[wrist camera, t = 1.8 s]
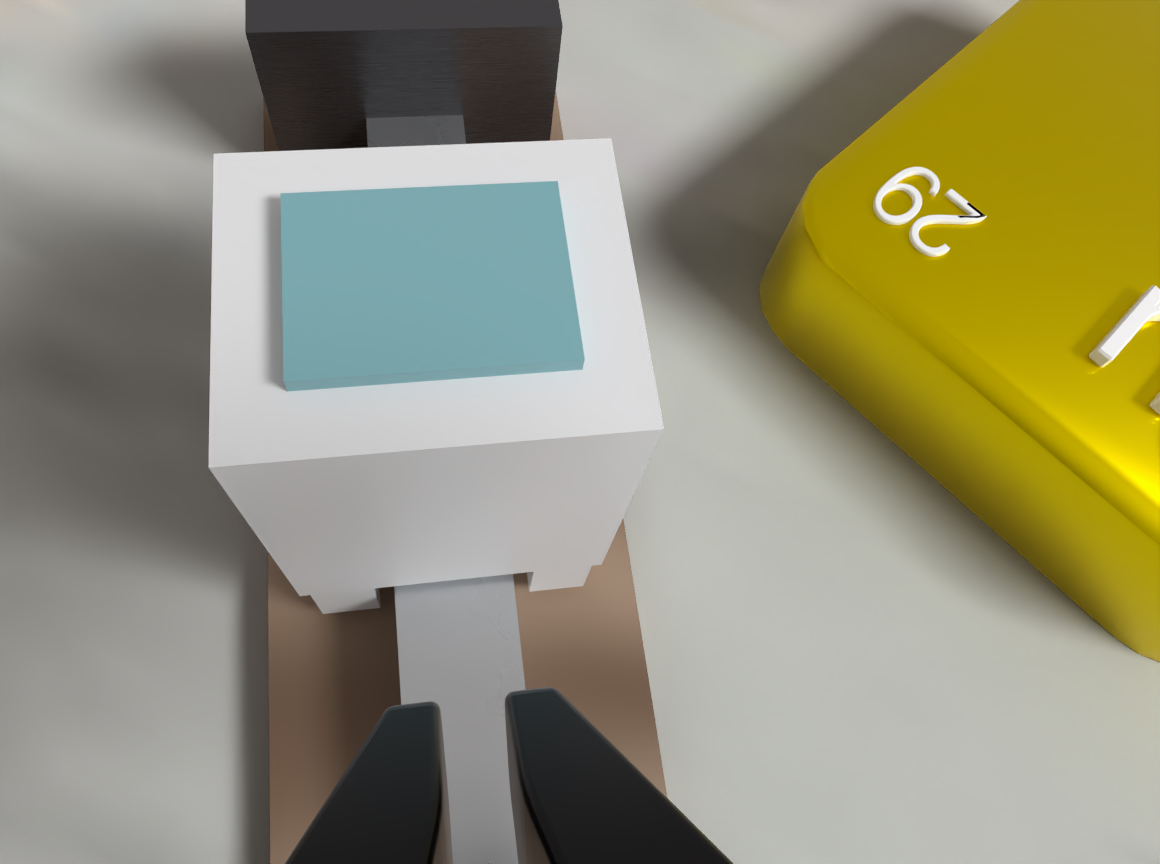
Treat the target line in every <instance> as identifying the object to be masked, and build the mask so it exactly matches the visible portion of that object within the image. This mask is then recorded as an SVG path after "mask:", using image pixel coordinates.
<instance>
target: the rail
mask: <svg viewBox="0 0 1160 864" xmlns="http://www.w3.org/2000/svg"><path fill="white" fill-rule="evenodd" d="M561 34H562V21H561V15H560V9H559V3H558V0H246V36H247V40H248V43H249V47H250V50H251V54H252V57H253V61H254V64H255V68H256V71H257V75H258V79H259V82H260V86H261V89H262V93H263V96H264V100H265V103H266V107H267V110H268V114H269V117H270V121H271V125H272V128H273V132H274V135H275V139H276V142H277V146H278V149H279V151H295V150H321V149H347V148H373V147H399V146H426V145H452V144H478V143H504V142H530V141H550V135H551V126H552V117H553V108H554V99H555V89H556V80H557V71H558V62H559V53H560V43H561ZM394 592H395V608H396V625H397V642H398V658H399V675H400V692H401V705H402V704H411V703H419V702H427V701H433V702H435V703H437V704H438V705H439V707H440V711H441V720H442V731H443V741H444V752H445V763H446V774H447V784H448V797H449V810H450V826H451V841H452V856H453V864H518V855H517V846H516V838H515V829H514V821H513V812H512V803H511V794H510V783H509V769H508V753H507V737H506V720H505V698H506V696H507V694H509V693H510V692H512V691H518V690H526V689H525V680H524V671H523V662H522V652H521V643H520V634H519V625H518V616H517V607H516V597H515V588H514V579H513V574H507V575H498V576H488V577H479V578H469V579H459V580H450V581H440V582H431V583H421V584H412V585H402V586H394Z"/></svg>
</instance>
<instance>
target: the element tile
mask: <svg viewBox="0 0 1160 864" xmlns="http://www.w3.org/2000/svg"><path fill="white" fill-rule="evenodd" d="M759 289H760V301H761V309H762V311H763V313H764V315H765V317H766V319H767V321H768V323H769V325H770V327H771V329H772V331H773V332H774V333H775V335H776V336H777V337H778V338H779V339H780V340H781V342H782V343H783V344H784V345H785V346H786V348H787V349H789V350H790V351H791V352H792V353H793V354H794V355H795V356H796V357H798V358H799V359H800V360H801V361H802V362H803V363H804V364H806V365H807V366H808V367H809V368H810V369H811V370H812V371H813V372H815V373H816V374H817V375H818V376H819V377H820V378H821V379H823V380H824V381H825V382H826V383H827V384H828V385H829V386H830V387H832V388H833V389H834V390H835V391H836V392H837V393H838V394H840V395H841V396H842V397H843V398H844V399H845V400H846V401H847V402H849V403H850V404H851V405H852V406H853V407H854V408H855V409H856V410H858V411H859V412H860V413H861V414H862V415H863V416H864V417H866V418H867V419H868V420H869V421H870V422H871V423H872V424H873V425H875V426H876V427H877V428H878V429H879V430H880V431H881V432H883V433H884V434H885V435H886V436H887V437H888V438H889V439H890V440H892V441H893V442H894V443H895V444H896V445H897V446H898V447H900V448H901V449H902V450H903V451H904V452H905V453H906V454H907V455H909V456H910V457H911V458H912V459H913V460H914V461H915V462H917V463H918V464H919V465H920V466H921V467H922V468H923V469H924V470H926V471H927V472H928V473H929V474H930V475H931V476H932V477H934V478H935V479H936V480H937V481H938V482H939V483H940V484H941V485H943V486H944V487H945V488H946V489H947V490H948V491H949V492H951V493H952V494H953V495H954V496H955V497H956V498H957V499H958V500H960V501H961V502H962V503H963V504H964V505H965V506H966V507H968V508H969V509H970V510H971V511H972V512H973V513H974V514H975V515H977V516H978V517H979V518H980V519H981V520H982V521H983V522H984V523H986V524H987V525H988V526H989V527H990V528H991V529H992V530H994V531H995V532H996V533H997V534H998V535H999V536H1000V537H1001V538H1003V539H1004V540H1005V541H1006V542H1007V543H1008V544H1009V545H1011V546H1012V547H1013V548H1014V549H1015V550H1016V551H1017V552H1018V553H1020V554H1021V555H1022V556H1023V557H1024V558H1025V559H1026V560H1028V561H1029V562H1030V563H1031V564H1032V565H1033V566H1034V567H1035V568H1037V569H1038V570H1039V571H1040V572H1041V573H1042V574H1043V575H1045V576H1046V577H1047V578H1048V579H1049V580H1050V581H1051V582H1052V583H1054V584H1055V585H1056V586H1057V587H1058V588H1059V589H1060V590H1062V591H1063V592H1064V593H1065V594H1066V595H1067V596H1068V597H1069V598H1071V599H1072V600H1073V601H1074V602H1075V603H1076V604H1077V605H1079V606H1080V607H1081V608H1082V609H1083V610H1084V611H1085V612H1086V613H1088V614H1089V615H1090V616H1091V617H1092V618H1093V619H1094V620H1096V621H1097V622H1098V623H1099V624H1100V625H1101V626H1102V627H1103V628H1105V629H1106V630H1107V631H1108V632H1109V633H1110V634H1111V635H1112V636H1114V637H1115V638H1117V639H1118V640H1119V641H1121V642H1122V643H1124V644H1125V645H1127V646H1128V647H1130V648H1131V649H1132V650H1134V651H1135V652H1137V653H1138V654H1141V655H1143V656H1146V657H1148V658H1151V659H1153V660H1155V661H1158V662H1160V0H1020V1H1019V2H1017V3H1016V4H1015V5H1014V6H1013V7H1011V8H1010V9H1009V10H1008V11H1007V12H1006V13H1004V14H1003V15H1002V16H1001V17H1000V18H999V19H997V20H996V21H995V22H994V23H993V24H991V25H990V26H989V27H988V28H987V29H986V30H984V31H983V32H982V33H981V34H980V35H978V36H977V37H976V38H975V39H974V40H973V41H971V42H970V43H969V44H968V45H967V46H965V47H964V48H963V49H962V50H961V51H960V52H958V53H957V54H956V55H955V56H954V57H952V58H951V59H950V60H949V61H948V62H947V63H945V64H944V65H943V66H942V67H941V68H940V69H938V70H937V71H936V72H935V73H934V74H932V75H931V76H930V77H929V78H928V79H927V80H925V81H924V82H923V83H922V84H921V85H919V86H918V87H917V88H916V89H915V90H914V91H912V92H911V93H910V94H909V95H908V96H906V97H905V98H904V99H903V100H902V101H901V102H899V103H898V104H897V105H896V106H895V107H893V108H892V109H891V110H890V111H889V112H888V113H886V114H885V115H884V116H883V117H882V118H880V119H879V120H878V121H877V122H876V123H875V124H873V125H872V126H871V127H870V128H869V129H868V130H866V131H865V132H864V133H863V134H862V135H860V136H859V137H858V138H857V139H856V140H855V141H853V142H852V143H851V144H850V145H849V146H847V147H846V148H845V149H844V150H843V151H842V152H840V153H839V154H838V155H837V156H836V157H834V158H833V159H832V160H831V161H830V162H829V163H827V164H826V165H825V166H824V167H823V168H821V169H820V170H819V171H818V172H817V173H816V174H815V175H814V177H813V178H812V180H811V181H810V183H809V184H808V186H807V188H806V190H805V192H804V194H803V196H802V198H801V200H800V202H799V204H798V206H797V208H796V210H795V212H794V214H793V216H792V218H791V220H790V222H789V223H788V225H787V227H786V229H785V231H784V233H783V235H782V237H781V239H780V241H779V243H778V245H777V247H776V249H775V251H774V253H773V255H772V257H771V259H770V261H769V263H768V265H767V267H766V270H765V273H764V275H763V278H762V281H761V283H760V286H759Z"/></svg>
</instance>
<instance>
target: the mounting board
mask: <svg viewBox="0 0 1160 864" xmlns="http://www.w3.org/2000/svg"><path fill="white" fill-rule="evenodd" d="M556 140H563V134H562V128H561V121H560V115H559V109H558V102H557V96H556V90H555V99H554V108H553V117H552V126H551V135H550V141H556ZM269 151H279V149H278V146H277V142H276V139H275V135H274V132H273V128H272V125H271V121H270V117H269V114H268V110H267V107H266V103H265V100H264V152H269ZM513 579H514V588H515V597H516V607H517V616H518V625H519V634H520V643H521V652H522V662H523V671H524V680H525V689H534V688H543V687H553V688H555V689H557V690H558V691H560V692H561V693H562V694H563V695H564V696H565V697H566V698H567V699H568V700H569V701H570V702H571V703H572V704H573V705H574V706H575V707H576V708H577V709H578V710H579V711H580V712H581V713H582V714H583V715H584V716H585V717H586V718H587V719H588V720H589V721H590V722H591V723H592V724H593V725H594V726H595V727H596V728H597V729H598V730H599V731H600V732H601V733H602V734H603V735H604V736H605V737H606V738H607V739H608V740H609V741H610V742H611V743H612V744H613V745H614V746H615V747H616V748H617V749H618V750H619V751H620V752H621V753H622V754H623V755H624V756H625V757H626V758H627V759H628V760H629V761H630V762H631V763H632V764H633V765H634V766H635V767H636V768H637V769H638V770H639V771H640V772H641V773H642V774H643V775H644V776H645V777H646V778H647V779H648V780H649V781H650V782H651V783H652V784H653V785H654V786H655V787H657V788H658V789H659V790H660V791H661V792H662V793H663V794H664V795H665V796H666V797H667V793H666V787H665V781H664V774H663V768H662V762H661V755H660V749H659V743H658V736H657V730H656V724H655V717H654V711H653V705H652V698H651V692H650V686H649V679H648V673H647V667H646V660H645V654H644V648H643V641H642V635H641V629H640V622H639V616H638V610H637V603H636V597H635V591H634V584H633V578H632V572H631V565H630V559H629V553H628V546H627V540H626V534H625V527H624V521H623V519H622V521H621V524H620V526H619V528H618V530H617V532H616V534H615V537H614V539H613V541H612V543H611V545H610V547H609V550H608V552H607V554H606V556H605V558H604V560H603V563H602V565H593V566H592V567H591V569H590V571H589V574H588V576H587V578H586V581H585V583H584V585H583V586H579V587H570V588H560V589H551V590H542V591H532V592H529V586H528V578H527V572H526V573H517V574H513ZM379 590H380V608H375V609H365V610H356V611H347V612H338V613H328V614H323V613H322V612H321V610H320V609H319V607H318V606H317V604H316V603H315V601H314V600H313V598H312V597H311V595H307V596H299V594H298V593H297V592H296V590H295V589H294V587H293V586H292V585H291V583H290V582H289V580H288V579H287V577H286V576H285V575H284V573H283V572H282V570H281V569H280V568H279V566H278V565H277V563H276V562H275V561H274V559H273V558H272V556H271V555H270V554H269V552H268V666H269V785H270V864H285V862H286V861H287V859H288V858H289V856H290V855H291V853H292V852H293V850H294V849H295V847H296V846H297V844H298V843H299V841H300V839H301V838H302V836H303V835H304V833H305V832H306V830H307V829H308V827H309V826H310V824H311V823H312V821H313V820H314V818H315V817H316V815H317V813H318V812H319V810H320V809H321V807H322V806H323V804H324V803H325V801H326V800H327V798H328V797H329V795H330V794H331V792H332V791H333V789H334V787H335V786H336V784H337V783H338V781H339V780H340V778H341V777H342V775H343V774H344V772H345V771H346V769H347V768H348V766H349V765H350V763H351V762H352V760H353V758H354V757H355V755H356V754H357V752H358V751H359V749H360V748H361V746H362V745H363V743H364V742H365V740H366V739H367V737H368V736H369V734H370V732H371V731H372V729H373V728H374V726H375V725H376V723H377V722H378V720H379V719H380V717H381V716H382V714H383V713H384V711H385V710H386V709H388V708H389V707H391V706H395V705H401V692H400V675H399V658H398V642H397V625H396V608H395V592H394V586H393V587H383V588H379Z"/></svg>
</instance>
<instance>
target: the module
mask: <svg viewBox="0 0 1160 864" xmlns="http://www.w3.org/2000/svg"><path fill="white" fill-rule="evenodd" d="M663 430H664V426H663V421H662V415H661V410H660V404H659V399H658V393H657V388H656V382H655V377H654V371H653V366H652V360H651V355H650V349H649V344H648V338H647V333H646V327H645V322H644V316H643V311H642V305H641V300H640V294H639V289H638V283H637V278H636V272H635V267H634V261H633V256H632V250H631V245H630V239H629V234H628V228H627V223H626V217H625V212H624V206H623V201H622V195H621V190H620V184H619V179H618V173H617V168H616V162H615V157H614V151H613V145H612V140H611V138H608V139H582V140H556V141H530V142H504V143H478V144H452V145H426V146H399V147H373V148H347V149H321V150H295V151H269V152H243V153H217V154H214V164H213V224H212V284H211V345H210V405H209V466H208V468H209V469H210V471H211V472H212V473H213V475H214V476H215V478H216V479H217V480H218V482H219V483H220V485H221V486H222V487H223V489H224V490H225V492H226V493H227V494H228V496H229V497H230V499H231V500H232V501H233V503H234V504H235V506H236V507H237V509H238V510H239V511H240V513H241V514H242V516H243V517H244V518H245V520H246V521H247V523H248V524H249V525H250V527H251V528H252V530H253V531H254V532H255V534H256V535H257V537H258V538H259V539H260V541H261V542H262V544H263V545H264V547H265V548H266V549H267V551H268V552H269V554H270V555H271V556H272V558H273V559H274V561H275V562H276V563H277V565H278V566H279V568H280V569H281V570H282V572H283V573H284V575H285V576H286V577H287V579H288V580H289V582H290V583H291V585H292V586H293V587H294V589H295V590H296V592H297V593H298V594H299V596H307V595H311V597H312V598H313V600H314V601H315V603H316V604H317V606H318V607H319V609H320V610H321V612H322V613H323V614H328V613H338V612H347V611H356V610H365V609H375V608H380V590H379V588H383V587H393V586H402V585H412V584H421V583H431V582H440V581H450V580H459V579H469V578H479V577H488V576H498V575H507V574H517V573H526V572H527V578H528V586H529V592H532V591H542V590H551V589H560V588H570V587H579V586H583V585H584V583H585V581H586V578H587V576H588V574H589V571H590V569H591V567H592V566H593V565H602V563H603V560H604V558H605V556H606V554H607V552H608V550H609V547H610V545H611V543H612V541H613V539H614V537H615V534H616V532H617V530H618V528H619V526H620V524H621V521H622V519H623V517H624V515H625V513H626V511H627V508H628V506H629V504H630V502H631V500H632V498H633V495H634V493H635V491H636V489H637V487H638V485H639V482H640V480H641V478H642V476H643V474H644V472H645V469H646V467H647V465H648V463H649V461H650V459H651V456H652V454H653V452H654V450H655V448H656V446H657V443H658V441H659V439H660V437H661V435H662V433H663Z"/></svg>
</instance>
